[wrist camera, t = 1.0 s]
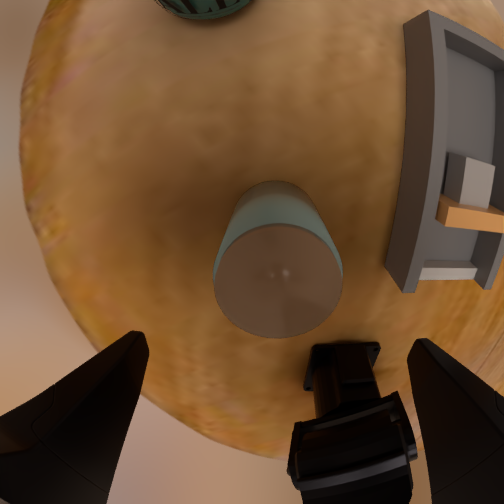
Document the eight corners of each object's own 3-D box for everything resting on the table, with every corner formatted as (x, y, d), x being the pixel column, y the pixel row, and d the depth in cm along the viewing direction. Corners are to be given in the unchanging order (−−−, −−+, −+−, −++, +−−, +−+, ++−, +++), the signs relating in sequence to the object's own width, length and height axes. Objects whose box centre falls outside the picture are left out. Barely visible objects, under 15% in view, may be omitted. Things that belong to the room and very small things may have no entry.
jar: (313, 261, 19) (334, 341, 12) (233, 258, 20) (214, 338, 12) (320, 183, 17) (357, 228, 10) (232, 179, 17) (205, 223, 10)
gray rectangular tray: (469, 267, 19) (490, 289, 16) (384, 266, 19) (402, 292, 16) (494, 65, 11) (523, 63, 8) (403, 24, 11) (427, 9, 8)
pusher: (481, 216, 16) (507, 233, 13) (419, 207, 16) (444, 226, 13) (491, 164, 14) (520, 175, 11) (427, 146, 14) (457, 154, 11)
